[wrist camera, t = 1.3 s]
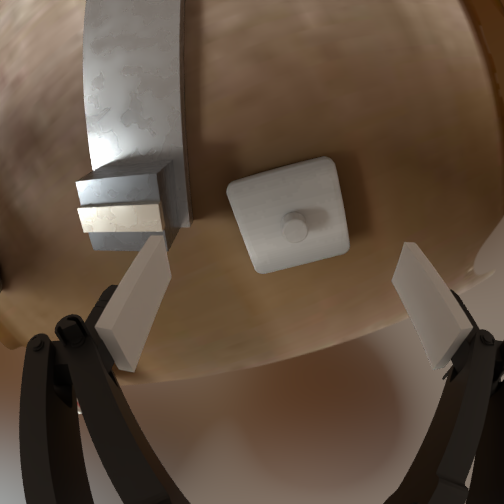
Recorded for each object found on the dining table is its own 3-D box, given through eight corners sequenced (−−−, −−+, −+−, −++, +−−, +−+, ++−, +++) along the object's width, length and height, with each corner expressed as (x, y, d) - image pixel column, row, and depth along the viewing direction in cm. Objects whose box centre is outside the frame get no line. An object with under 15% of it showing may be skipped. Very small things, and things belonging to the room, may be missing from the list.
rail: (111, 221, 28) (83, 253, 23) (104, -59, 9) (75, -77, 3) (193, 220, 28) (177, 255, 23) (192, -84, 9) (177, -113, 3)
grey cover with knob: (328, 151, 24) (339, 162, 19) (346, 240, 28) (356, 267, 24) (228, 176, 26) (217, 193, 22) (258, 260, 31) (254, 288, 26)
